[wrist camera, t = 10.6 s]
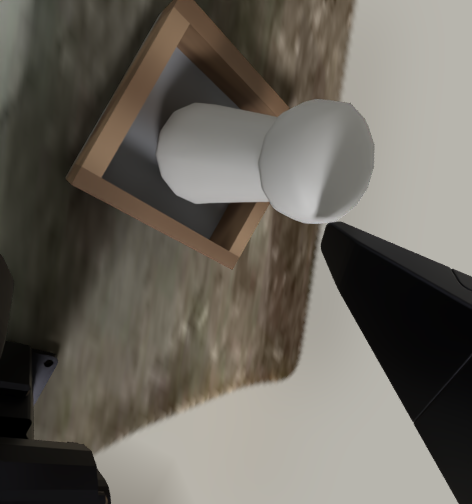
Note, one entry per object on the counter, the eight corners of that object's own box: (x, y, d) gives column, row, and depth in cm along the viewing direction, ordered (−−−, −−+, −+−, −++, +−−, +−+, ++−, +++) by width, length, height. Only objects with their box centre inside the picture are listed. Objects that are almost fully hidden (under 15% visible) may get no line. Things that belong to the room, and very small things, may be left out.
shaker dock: (208, 254, 25) (232, 269, 22) (64, 177, 18) (71, 184, 15) (277, 132, 25) (310, 131, 22) (159, 13, 18) (183, -12, 15)
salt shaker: (133, 113, 19) (267, 74, 8) (218, 100, 21) (404, 57, 11) (158, 209, 21) (287, 274, 10) (232, 187, 23) (395, 222, 13)
